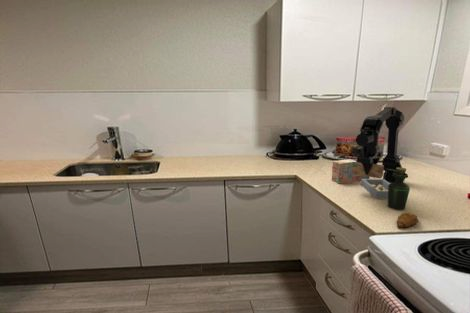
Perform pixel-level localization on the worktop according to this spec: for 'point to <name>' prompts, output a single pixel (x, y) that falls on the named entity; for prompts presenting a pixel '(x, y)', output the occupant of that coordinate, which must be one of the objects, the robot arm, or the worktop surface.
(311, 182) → the worktop surface
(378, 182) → the frame
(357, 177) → the stack of blocks
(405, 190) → the potion bottle
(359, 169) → the board
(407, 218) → the croissant
